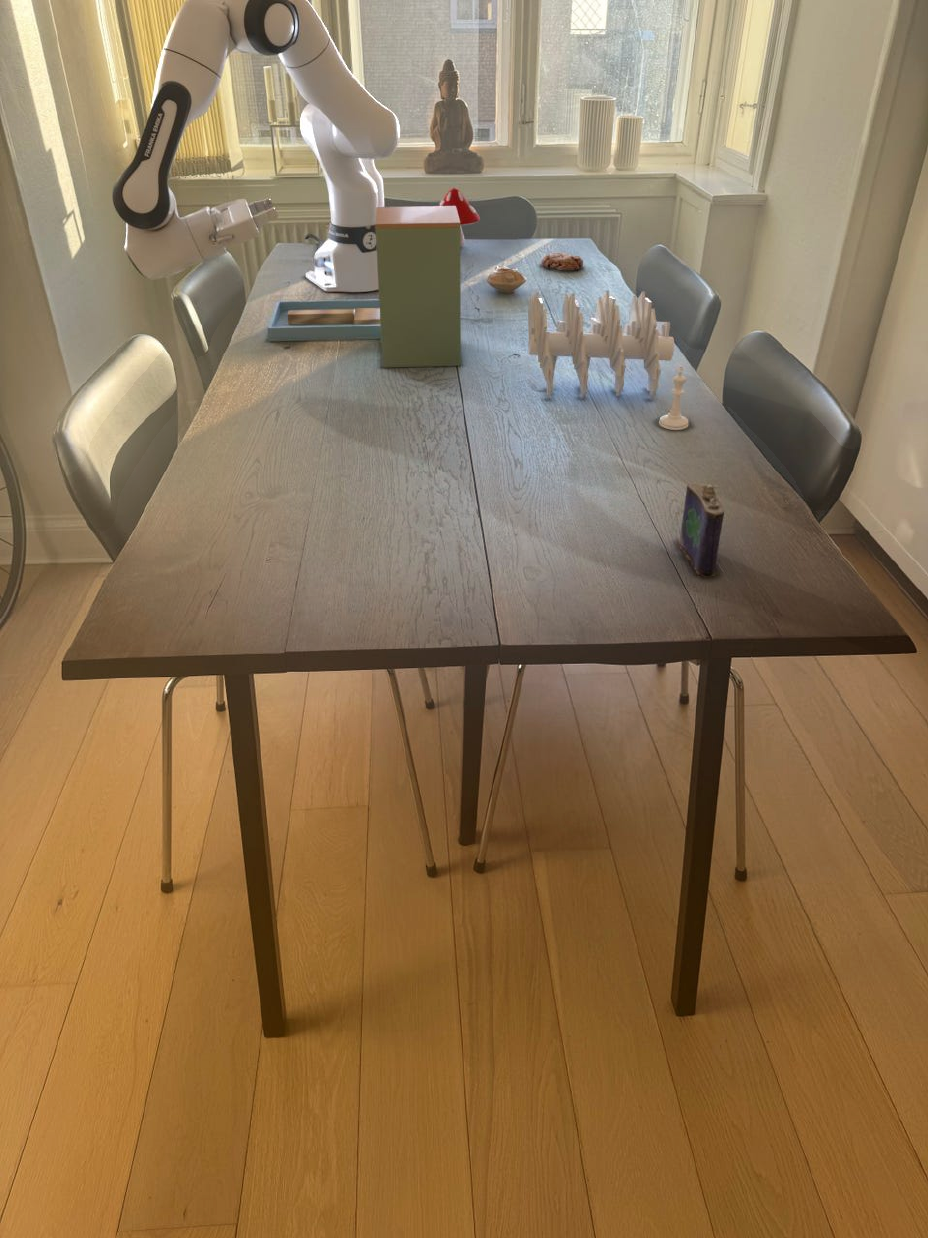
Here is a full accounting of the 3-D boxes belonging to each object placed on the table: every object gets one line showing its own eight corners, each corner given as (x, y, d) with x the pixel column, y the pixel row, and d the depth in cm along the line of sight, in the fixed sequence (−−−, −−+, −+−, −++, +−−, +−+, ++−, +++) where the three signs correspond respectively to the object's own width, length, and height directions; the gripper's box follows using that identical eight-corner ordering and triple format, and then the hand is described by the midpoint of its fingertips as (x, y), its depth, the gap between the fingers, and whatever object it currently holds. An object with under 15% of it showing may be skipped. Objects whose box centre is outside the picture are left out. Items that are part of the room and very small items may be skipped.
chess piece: (690, 420, 161) (698, 362, 155) (686, 431, 157) (694, 373, 151) (661, 416, 162) (668, 359, 156) (656, 427, 158) (663, 369, 152)
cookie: (542, 261, 246) (543, 249, 244) (583, 262, 244) (584, 250, 243) (539, 271, 237) (540, 259, 236) (582, 273, 236) (582, 260, 234)
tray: (269, 341, 194) (267, 327, 192) (277, 313, 209) (276, 300, 208) (423, 338, 196) (423, 324, 194) (421, 310, 211) (420, 298, 209)
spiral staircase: (664, 422, 170) (525, 416, 169) (655, 350, 179) (522, 344, 177) (690, 346, 154) (537, 339, 153) (679, 271, 163) (534, 265, 162)
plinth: (382, 367, 182) (375, 223, 167) (383, 343, 193) (376, 206, 178) (460, 365, 182) (460, 222, 167) (456, 341, 194) (455, 205, 179)
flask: (675, 541, 127) (686, 468, 121) (696, 540, 127) (708, 467, 121) (698, 578, 120) (711, 502, 113) (721, 576, 120) (735, 501, 114)
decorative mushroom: (423, 252, 253) (421, 191, 244) (433, 240, 264) (432, 181, 255) (475, 254, 251) (475, 193, 242) (483, 242, 262) (483, 183, 253)
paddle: (287, 328, 198) (286, 317, 197) (290, 316, 205) (289, 306, 204) (397, 326, 199) (397, 315, 198) (397, 314, 206) (397, 304, 205)
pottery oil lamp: (516, 278, 230) (528, 254, 225) (516, 309, 223) (529, 285, 218) (482, 266, 228) (493, 242, 222) (482, 297, 221) (493, 272, 215)
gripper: (203, 229, 176) (272, 201, 177) (199, 207, 193) (262, 181, 193) (219, 261, 180) (286, 234, 181) (214, 237, 197) (275, 212, 197)
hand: (274, 206), depth 187 cm, fingers open, 8 cm apart
